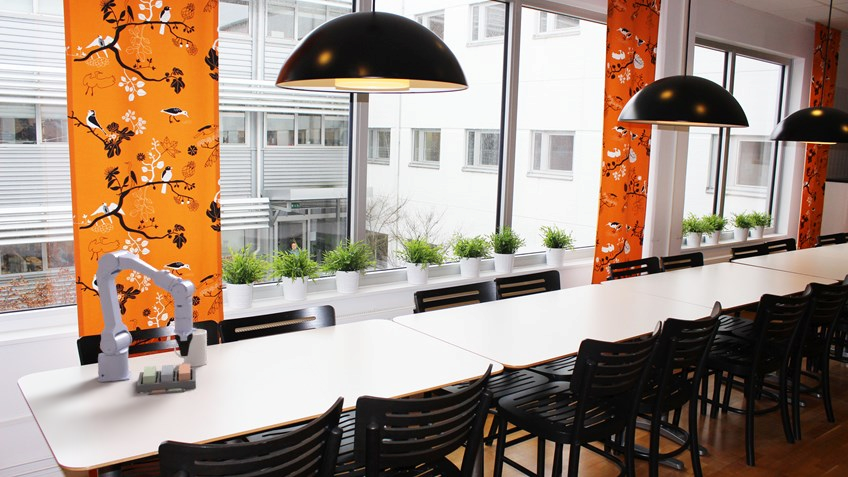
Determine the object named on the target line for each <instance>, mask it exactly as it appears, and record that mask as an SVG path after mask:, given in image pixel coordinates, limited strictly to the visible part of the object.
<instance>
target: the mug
mask: <svg viewBox="0 0 848 477" xmlns="http://www.w3.org/2000/svg"><path fill="white" fill-rule="evenodd" d="M192 333H193V338H192V340H191V343H190V346H189V352H188V356H182V357H181V354H180V353H178V351H177V349H176V347H177V345H178V343H177V341H176V340H175V343H174V346H173V349H174V353H175V355H177V356H178V358H182V359H183V363H182V364H190V368H196V367H202V366H204V365H207V364H208V362H209V361H208V344H207V343H208V342H207V341H208V339H207V338H208V333H207V330H206V329H203V328H196V331H194V332H192Z"/></svg>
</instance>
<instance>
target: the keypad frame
mask: <svg viewBox="0 0 848 477" xmlns="http://www.w3.org/2000/svg"><path fill="white" fill-rule="evenodd" d="M196 369H197V368H196V367H190V378H191V377H192V379H190V380H186V381H179V380H178V379H179V368H178V369H173V372H174V375H173V379H174V380H173V382H161V371H162V370H156V382H155V383H149V384H143V373H144V371H141V372H139V374H138V380H137V383H136V384H137V385H136V393H137V394H145V393H149V391H152V390H164V389H165V390H168V389H176V388H185V390H191V389H196V388H197V382H196V381H197V380H196V378H197V375H196Z"/></svg>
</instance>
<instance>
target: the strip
mask: <svg viewBox="0 0 848 477" xmlns="http://www.w3.org/2000/svg"><path fill="white" fill-rule="evenodd" d="M185 390H186V389H185V388H176V389H168V390H165V389H164V390H152V391H149V392H147V393H148V394H147V395H149V396H150V395H161V394H163V395H164V394H173V393H184V392H185Z"/></svg>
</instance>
